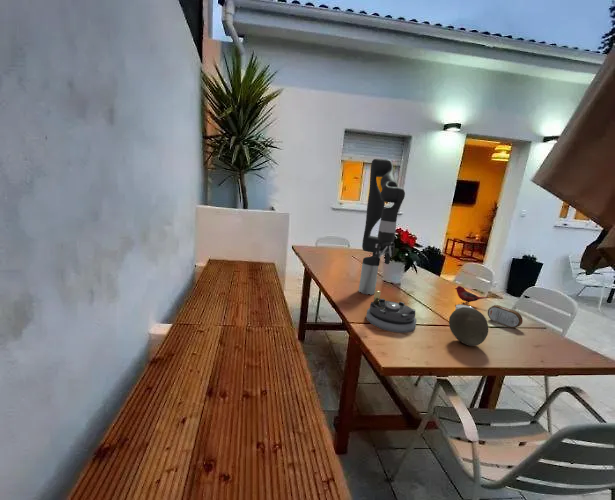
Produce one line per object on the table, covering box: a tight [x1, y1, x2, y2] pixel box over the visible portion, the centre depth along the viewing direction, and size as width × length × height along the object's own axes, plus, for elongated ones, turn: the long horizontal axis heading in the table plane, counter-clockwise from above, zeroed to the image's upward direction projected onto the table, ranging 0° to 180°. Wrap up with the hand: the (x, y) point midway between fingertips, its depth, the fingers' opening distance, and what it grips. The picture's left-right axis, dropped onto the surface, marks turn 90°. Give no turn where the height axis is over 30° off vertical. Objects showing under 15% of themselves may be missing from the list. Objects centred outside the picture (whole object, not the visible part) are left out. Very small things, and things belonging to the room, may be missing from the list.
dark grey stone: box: [448, 307, 489, 347], centre depth 125 cm, size 14×14×15 cm
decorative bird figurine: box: [454, 285, 489, 305], centre depth 176 cm, size 3×18×10 cm, turn 71°
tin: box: [487, 304, 524, 329], centre depth 152 cm, size 15×3×8 cm, turn 36°
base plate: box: [365, 307, 417, 333], centre depth 141 cm, size 22×22×3 cm
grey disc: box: [369, 289, 416, 324], centre depth 140 cm, size 20×20×9 cm
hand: (381, 264), depth 145 cm, fingers open, 8 cm apart
